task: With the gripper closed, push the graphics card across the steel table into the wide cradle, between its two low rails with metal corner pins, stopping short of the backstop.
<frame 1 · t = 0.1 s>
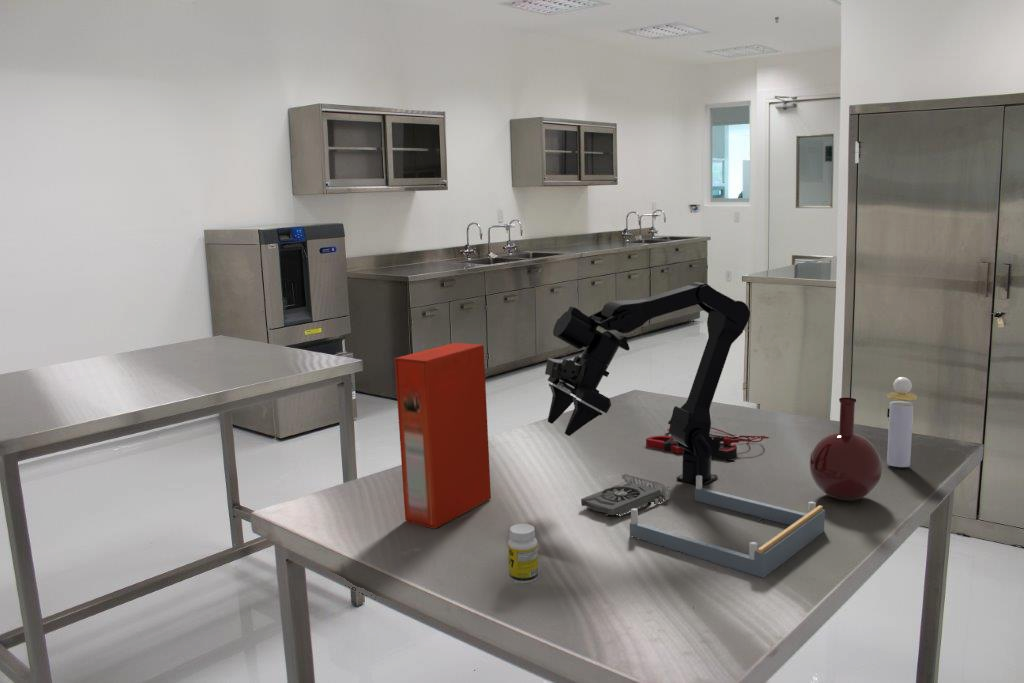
hand: (558, 428, 162), 15 cm above the table, tool tilted 30°, fingers open, 9 cm apart
perfume bottle: (898, 467, 177), on the table
file binder: (448, 510, 161), on the table
supplement bottle: (523, 578, 132), on the table
graphics card: (620, 506, 162), on the table
cradle: (723, 532, 146), on the table
digital clamp meter: (708, 446, 198), on the table
round-bottom flask: (843, 499, 160), on the table
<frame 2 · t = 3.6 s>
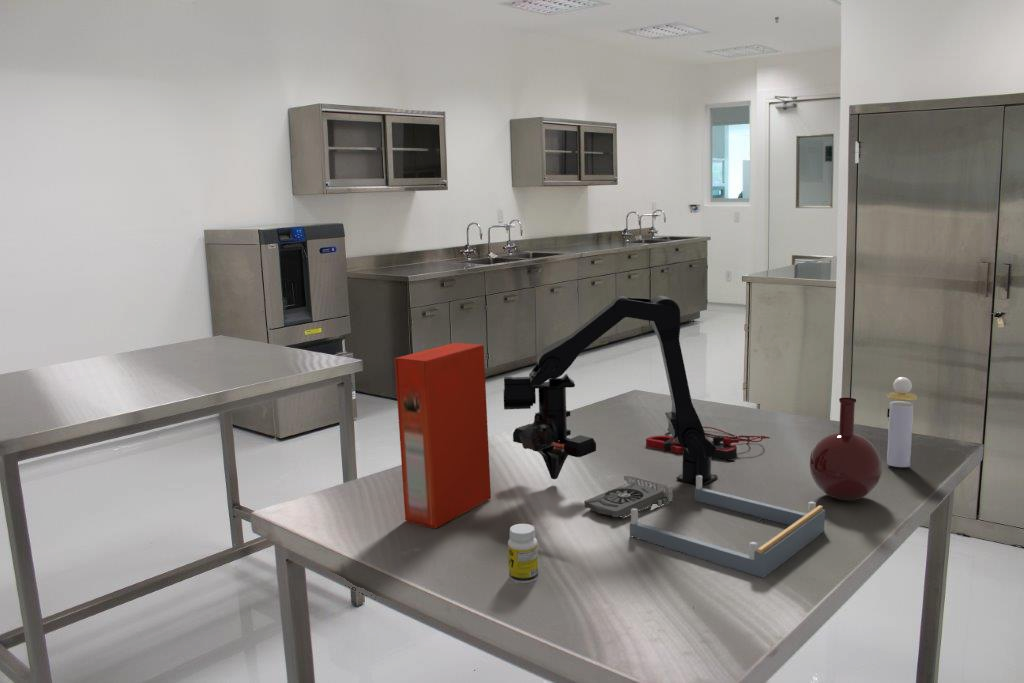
hand: (554, 478, 173), 1 cm above the table, tool pointing down, fingers closed
graphics card: (623, 507, 161), on the table
everything else where it was.
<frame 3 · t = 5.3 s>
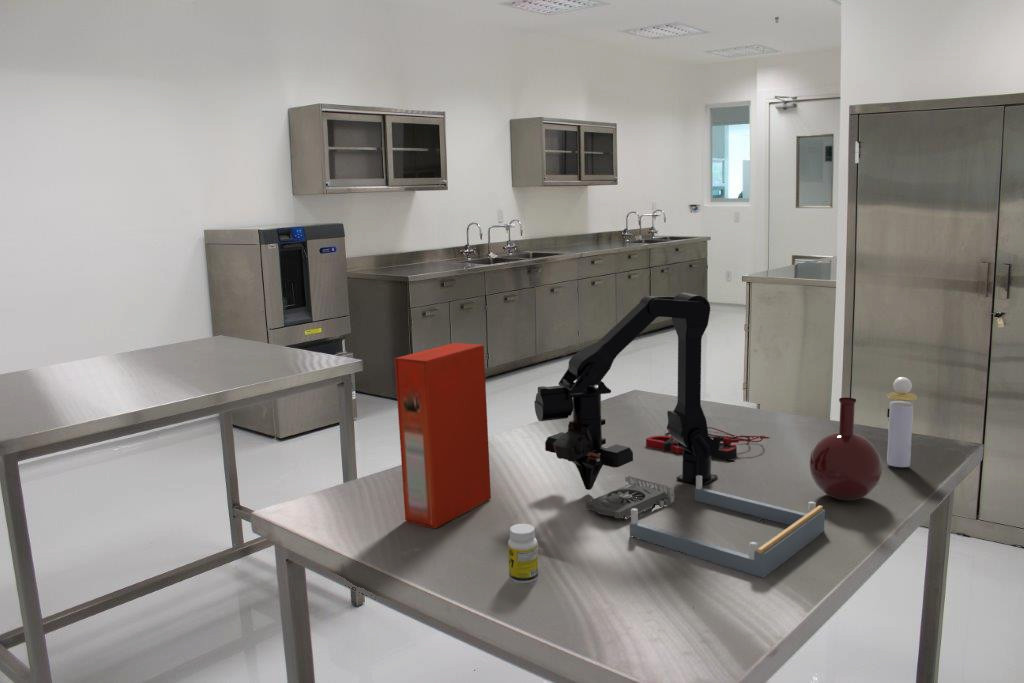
hand: (588, 489, 167), 1 cm above the table, tool pointing down, fingers closed
nothing on the table moved.
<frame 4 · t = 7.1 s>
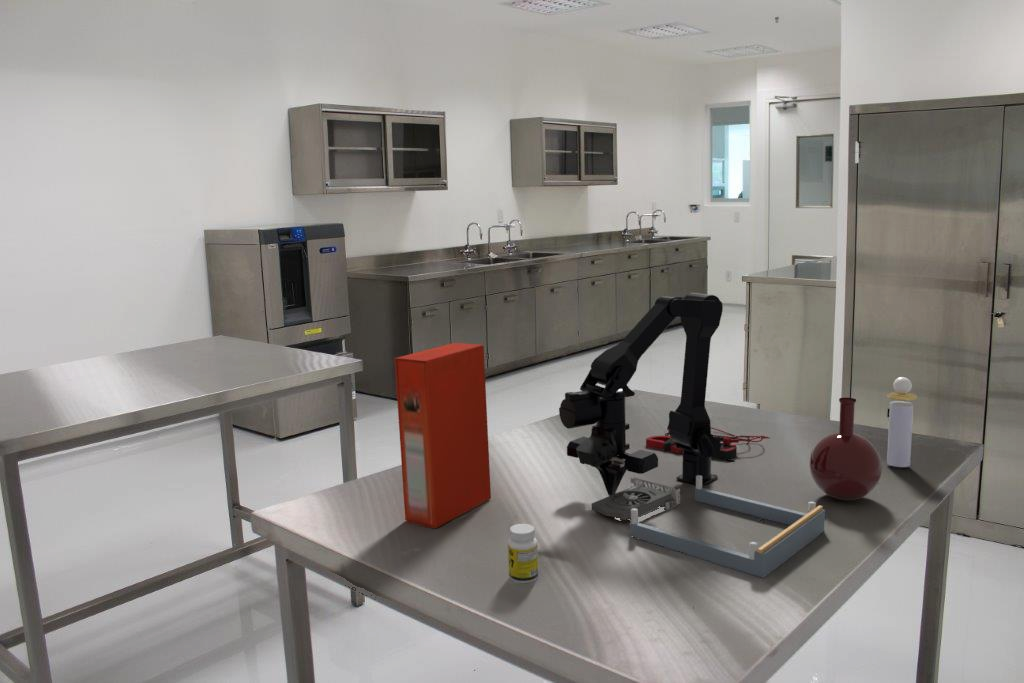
hand: (611, 495, 163), 1 cm above the table, tool pointing down, fingers closed
graphics card: (630, 510, 160), on the table, touching gripper
everything else where it was.
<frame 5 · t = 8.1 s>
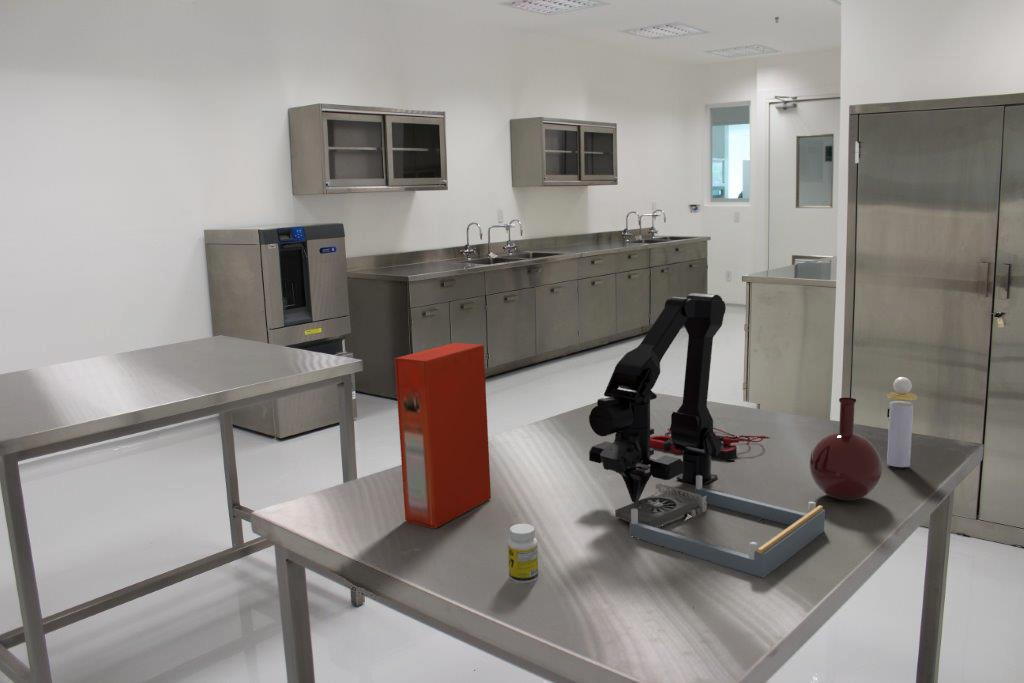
hand: (635, 501, 159), 1 cm above the table, tool pointing down, fingers closed
graphics card: (655, 517, 156), on the table, touching gripper
everything else where it was.
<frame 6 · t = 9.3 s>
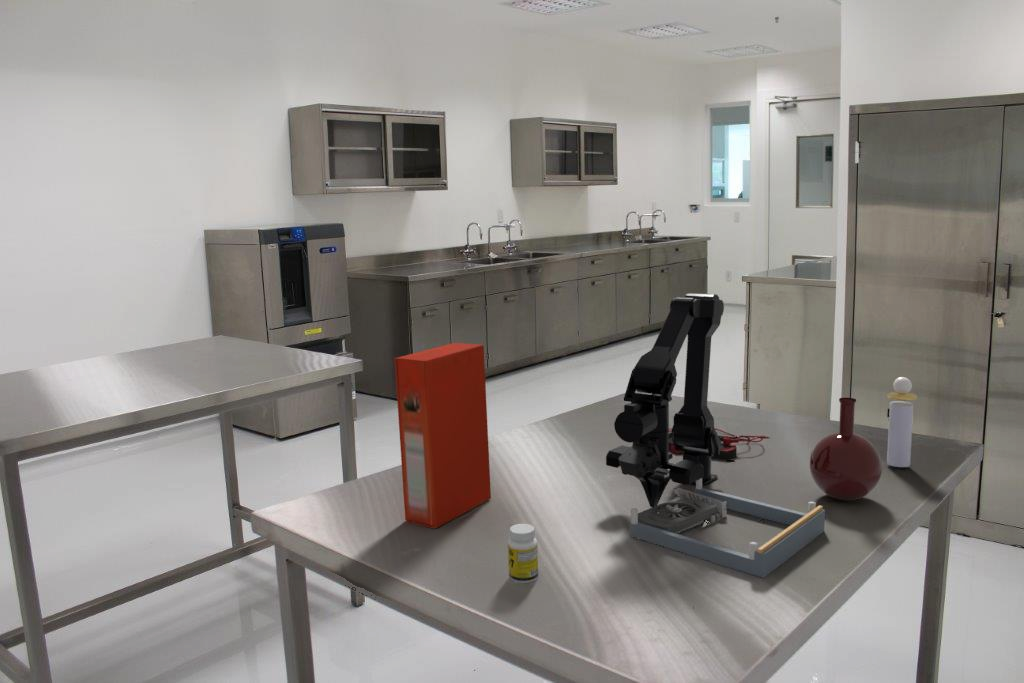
hand: (653, 506, 157), 1 cm above the table, tool pointing down, fingers closed
graphics card: (673, 523, 153), on the table
everything else where it was.
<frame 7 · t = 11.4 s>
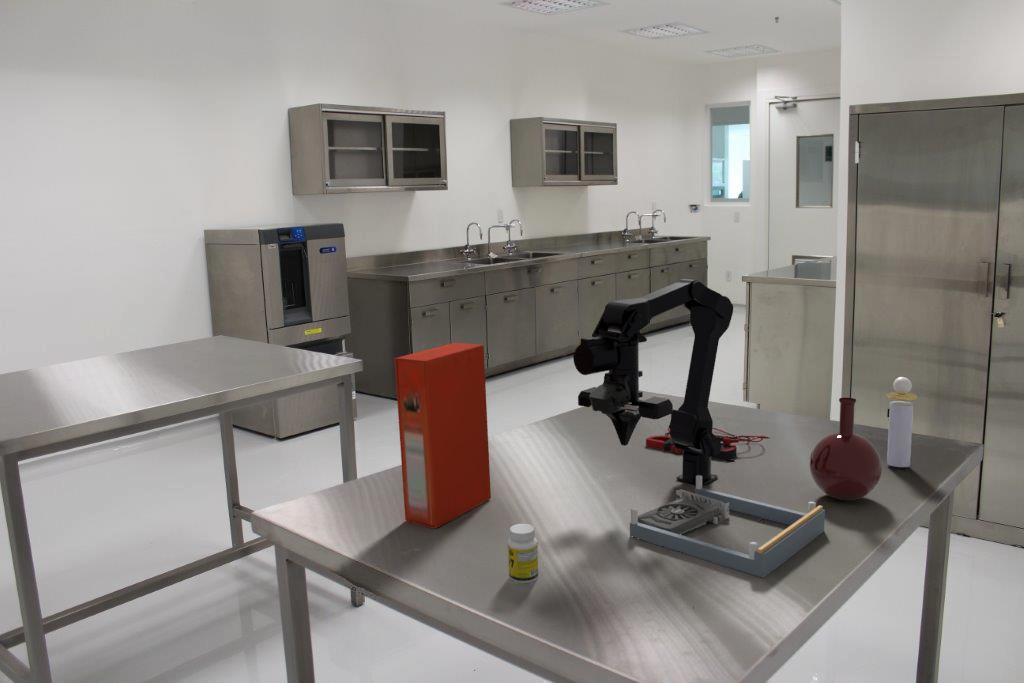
hand: (624, 445, 160), 12 cm above the table, tool pointing down, fingers closed
nothing on the table moved.
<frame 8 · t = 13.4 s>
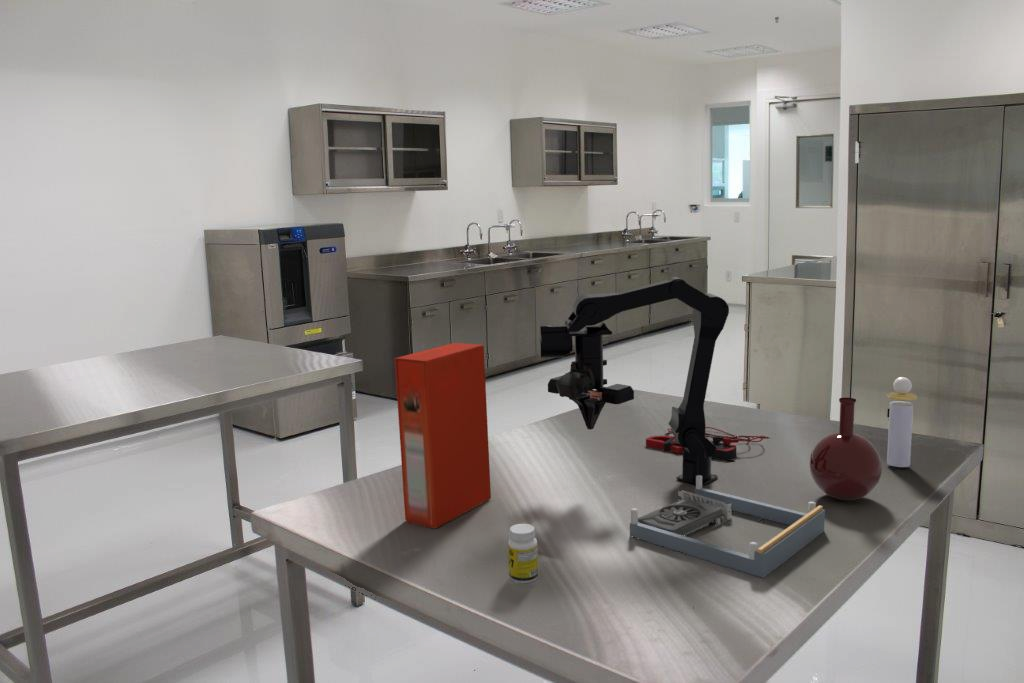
hand: (590, 429, 171), 12 cm above the table, tool pointing down, fingers closed
at the end: graphics card inside the target area (6.7 cm from its centre), on the table; graphics card moved 14.4 cm from its start; graphics card tilted 1° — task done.
